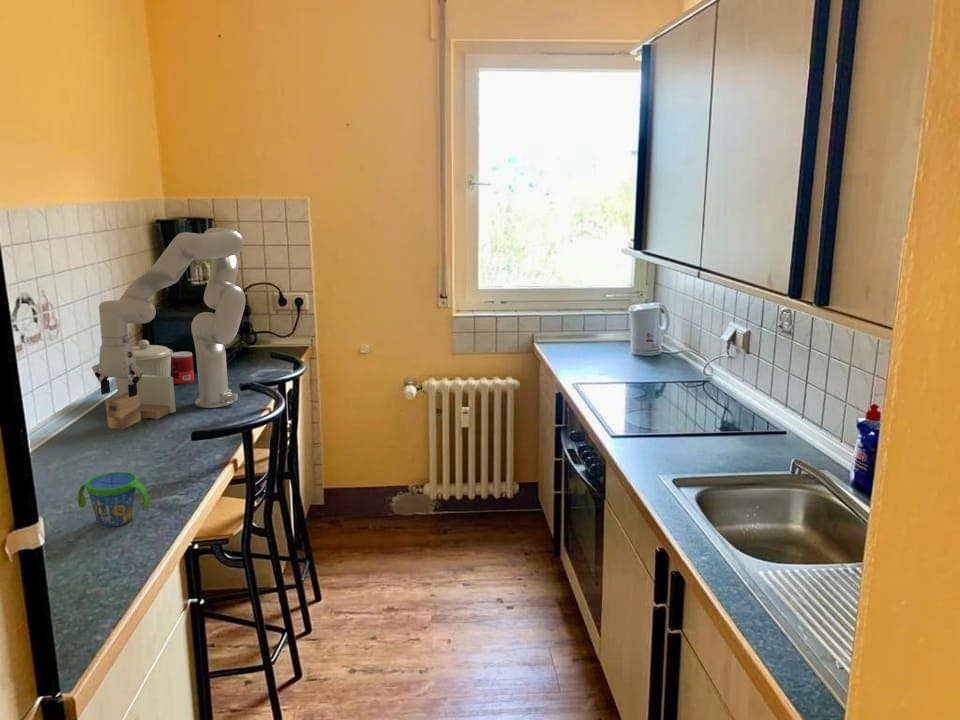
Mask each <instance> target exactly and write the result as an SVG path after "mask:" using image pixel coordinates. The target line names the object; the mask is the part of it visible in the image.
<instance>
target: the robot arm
mask: <svg viewBox="0 0 960 720" xmlns="http://www.w3.org/2000/svg"><path fill="white" fill-rule="evenodd" d="M243 248H244V238H243V236H242V234H241V233H239V232H238V231H237V230H235V229H230V228H221V227H212V228H208V229H206V230H205V231H204V232H203V233H195V232H184V231H183V232H180V233H178V234H177V235H176V236H175V237H174V238H173V239H172V241H171V242H170V243H169V245H168V246H167V247H166V249H165V250H164V251H163V252H162V254H161V255H160V257H159V258H158V259H157V260H156V262H155V263H154V264H153V265H152V266H151V267H150V268H149V269H147V270H146V271H145V272H144V273H141V275H140V276H138V277H137V278H136V279H134V281H133V282H131V284H130V285H129V286H128V287H127V289H126V290H125V291H124V292H123V294H122V295H121V297H120V298H119V299H118V300H114V299H113V300H105V301H102V302H100V303H99V305H98V310H99V311H98V313H99V323H100V324H99V325H100V336H101V345H100V348H99V356H98V357H99V359H98V361H99V363H97V364H95V365H93V366H92V367H91V369H92V371H93V373H94V376H95V377H96V378H97V380H98V381H97V382H99V383H100V392H101V395H106V394H109V393H111V386H110V380H109V379H108V378H115V379H116V378H125V379H126V380H127V381H128V382H129V385H128V394H129V397H133V396H136V395H137V383H138V381H139V380H140V379H141V376H142V374H143V370H141V369H140V368H138V367H137V366H136V362H135V356H134V352H133V348H132V347H133V346H132V345H131V343H132V338H129V329H128V327H129V326H128V325H129V324H136V325H137V324H140V325H141V324H146V323H147V324H148V323H150V322H151V321H153V320H154V319H155V317H156V314H157V313H156V307H155V305H154V304H153V303H152V302H151V301H149V299H150V298H151V297H152V296H153V295H155V294H156V293H157V292H159V291H161V290H163V289H164V288H165V289H166V288H168V287H171V286H172V285H174V284H176V283H177V282H179V280H180V279H181V277H182V276H183V274H184V273H185V272H186V270H187V268H189V266H190V265H191V263H192V262H193V261H199V262H201V261H210V260H211V268H210V273H209V277H208V281H207V283H206V287H205V290H204V294H203V301H204V304H205V305H206V306H207V307H208V308H210V309H213V310H215V312H208V311H204V312H200V313H198V314H197V315H196V316H194V317H193V319H192V321H191V325H190V326H191V328H190V329H191V335H192V339H193V343H194V348H195V355H196V356H195V357H196V367H197V368H196V369H197V381H198V390H199V391H198V393H199V394H198V395H199V397H198V398H197V399H196V400H195V402H194V403H195V406H196V407H199V408H204V409H205V408H206V409H213V408H222V407H227V406H229V405H231V404H233V403H234V401H238V399H239V393H233V392H232V389H231V388H229V381H228V380H229V379H228V367H227V353H226V347H225V345H228V344H231V342H233V340H235V338H236V336H237V333H238V331H239V329H240V326H241V322H242V318H243V314H244V311H245V307H246V295H245V292H244V290H243V289H242V288H241V287H240V286H238V285H236V282H237V276H238V273H239V262H238V261H239V260H238V259H237V258H238V257H237V255H238V254H239V253H240V252H242V250H243ZM135 375H136V376H135ZM130 377H131V378H130Z"/></svg>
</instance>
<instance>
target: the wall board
mask: <svg viewBox="0 0 960 720" xmlns="http://www.w3.org/2000/svg"><path fill="white" fill-rule="evenodd" d="M135 376H136V375H135ZM130 378H131V377H130ZM115 381H116V391H117V396H118V395H120V394H122V393H128V385H129V382H128V381H127V380H126V379H125V378H115ZM137 394H139V404H140V413H141V419H147V418H154V419H153V420H159V419H161V418H163V417H165V416H167V415H169V414H168V413H170V414H171V413H173V412H175V413H176V412H177V408H176V399H175V398H176V396H175V395H176V394H175V384H174V383H173V377H172V376H170V377H165V376H152V375H142V376H141V379H140V380H139V381H138V383H137ZM166 414H167V415H166ZM173 414H174V413H173ZM164 415H165V416H164ZM162 416H163V417H162ZM160 417H161V418H160ZM158 418H159V419H158Z"/></svg>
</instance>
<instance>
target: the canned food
mask: <svg viewBox="0 0 960 720" xmlns="http://www.w3.org/2000/svg"><path fill="white" fill-rule="evenodd" d="M193 360H194V359H193V353H192V352H191V351H178V352H177V351H175V352H173V353H172V354H171V377H173V384H174V385H178V384H182V385H188V383H189V384H192V383H193V382H194V381H195V371H194V361H193Z"/></svg>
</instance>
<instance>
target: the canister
mask: <svg viewBox="0 0 960 720" xmlns="http://www.w3.org/2000/svg"><path fill="white" fill-rule="evenodd" d="M137 345H138V346H137ZM137 345H136V346H132V348H133V352H134V356H135V362H136V366H137V367H138V368H140V369H141V370H143V374H142V375H152V376H165V377H171V376H172V372H171V354H172V353H174V351H173V349H171V348H168V347H167V346H164V345H158V344H157V345H155V344H150V342H149V340H147V339H141V340H139V341H138V344H137Z"/></svg>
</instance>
